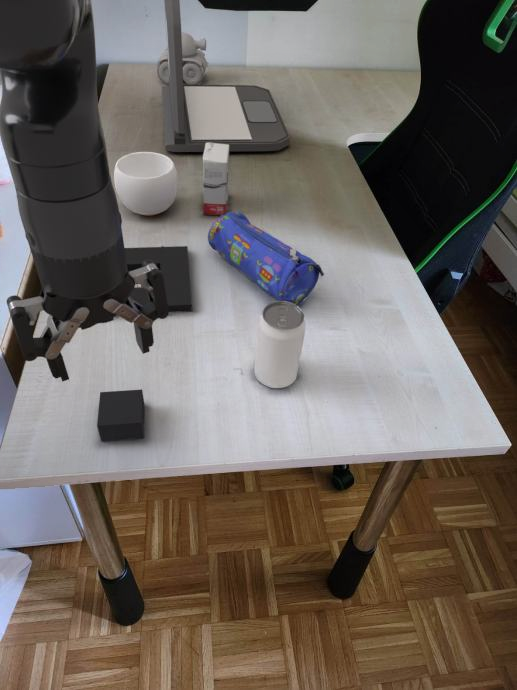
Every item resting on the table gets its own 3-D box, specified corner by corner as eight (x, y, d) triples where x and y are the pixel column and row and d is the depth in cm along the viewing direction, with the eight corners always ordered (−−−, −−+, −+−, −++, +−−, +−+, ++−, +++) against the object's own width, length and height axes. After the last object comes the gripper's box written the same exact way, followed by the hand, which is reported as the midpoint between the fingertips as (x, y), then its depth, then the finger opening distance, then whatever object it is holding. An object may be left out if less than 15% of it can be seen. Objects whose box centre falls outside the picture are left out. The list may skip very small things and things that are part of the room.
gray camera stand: (291, 154, 128) (308, 7, 106) (166, 155, 124) (155, 2, 101) (266, 95, 155) (275, -33, 132) (162, 94, 150) (153, -39, 127)
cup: (190, 214, 107) (188, 170, 100) (136, 231, 101) (131, 186, 94) (160, 188, 113) (156, 145, 106) (108, 203, 107) (101, 159, 100)
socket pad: (89, 315, 84) (88, 309, 83) (97, 255, 95) (96, 248, 94) (191, 311, 86) (191, 304, 85) (187, 252, 97) (187, 246, 96)
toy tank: (209, 75, 163) (209, 29, 154) (206, 88, 156) (205, 40, 146) (162, 72, 163) (159, 25, 153) (156, 84, 155) (152, 35, 146)
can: (252, 388, 75) (258, 329, 67) (255, 356, 80) (260, 296, 71) (297, 391, 75) (308, 333, 67) (296, 359, 80) (307, 300, 71)
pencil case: (320, 299, 90) (329, 255, 83) (285, 320, 86) (291, 274, 79) (239, 241, 101) (241, 196, 94) (204, 256, 97) (203, 211, 90)
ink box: (226, 216, 107) (227, 162, 98) (202, 215, 107) (202, 160, 98) (228, 195, 113) (230, 142, 104) (206, 193, 113) (205, 141, 104)
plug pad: (101, 441, 67) (96, 425, 65) (104, 407, 71) (100, 392, 69) (144, 438, 68) (141, 422, 66) (144, 405, 72) (142, 389, 69)
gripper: (140, 190, 48) (154, 319, 59) (-27, 225, 42) (25, 360, 54) (172, 232, 43) (181, 362, 55) (-9, 278, 38) (43, 411, 49)
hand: (104, 361), depth 54 cm, fingers open, 8 cm apart
